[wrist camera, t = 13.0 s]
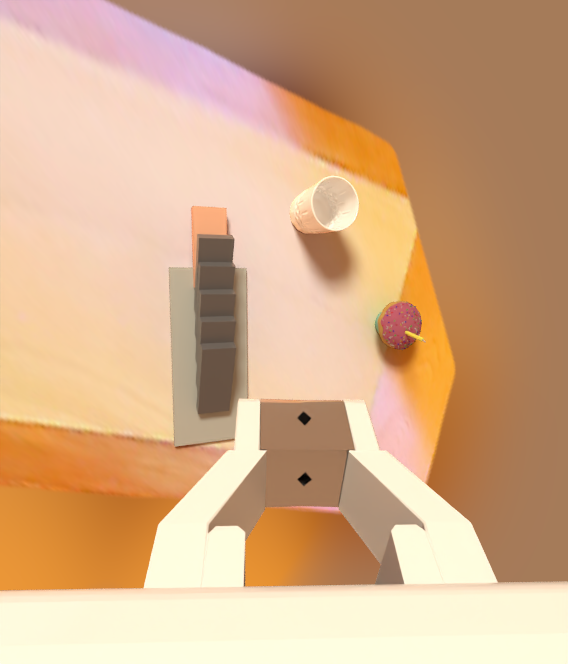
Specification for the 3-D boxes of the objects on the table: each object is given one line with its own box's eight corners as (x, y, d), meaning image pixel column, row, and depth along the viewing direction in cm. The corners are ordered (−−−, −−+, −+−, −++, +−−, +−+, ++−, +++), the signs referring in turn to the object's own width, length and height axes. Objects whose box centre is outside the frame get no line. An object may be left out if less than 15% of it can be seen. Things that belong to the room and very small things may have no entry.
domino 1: (195, 287, 65) (193, 206, 63) (193, 287, 66) (191, 207, 65) (227, 287, 67) (226, 208, 65) (225, 287, 68) (223, 209, 67)
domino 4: (196, 364, 66) (201, 294, 60) (195, 358, 68) (199, 289, 62) (228, 362, 68) (235, 294, 62) (226, 356, 69) (233, 289, 63)
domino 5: (197, 389, 67) (201, 322, 61) (195, 383, 68) (199, 316, 62) (228, 386, 69) (236, 321, 63) (226, 380, 70) (233, 315, 64)
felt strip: (174, 445, 69) (174, 446, 68) (168, 267, 65) (169, 267, 65) (247, 435, 73) (248, 436, 72) (245, 268, 70) (246, 268, 69)
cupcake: (398, 348, 82) (442, 359, 71) (360, 341, 79) (401, 350, 68) (408, 304, 82) (454, 308, 71) (371, 295, 79) (413, 297, 68)
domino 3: (196, 339, 66) (200, 266, 60) (194, 333, 67) (198, 261, 61) (228, 337, 68) (235, 266, 62) (226, 332, 69) (232, 262, 63)
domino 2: (195, 314, 65) (199, 237, 59) (193, 309, 67) (197, 234, 61) (227, 313, 67) (234, 238, 61) (225, 308, 68) (231, 235, 62)
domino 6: (197, 414, 67) (202, 349, 61) (196, 407, 69) (200, 343, 63) (229, 410, 69) (236, 347, 63) (227, 404, 70) (233, 342, 64)
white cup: (336, 217, 74) (368, 208, 65) (305, 247, 73) (333, 242, 64) (309, 179, 72) (338, 164, 63) (276, 209, 70) (300, 199, 61)
